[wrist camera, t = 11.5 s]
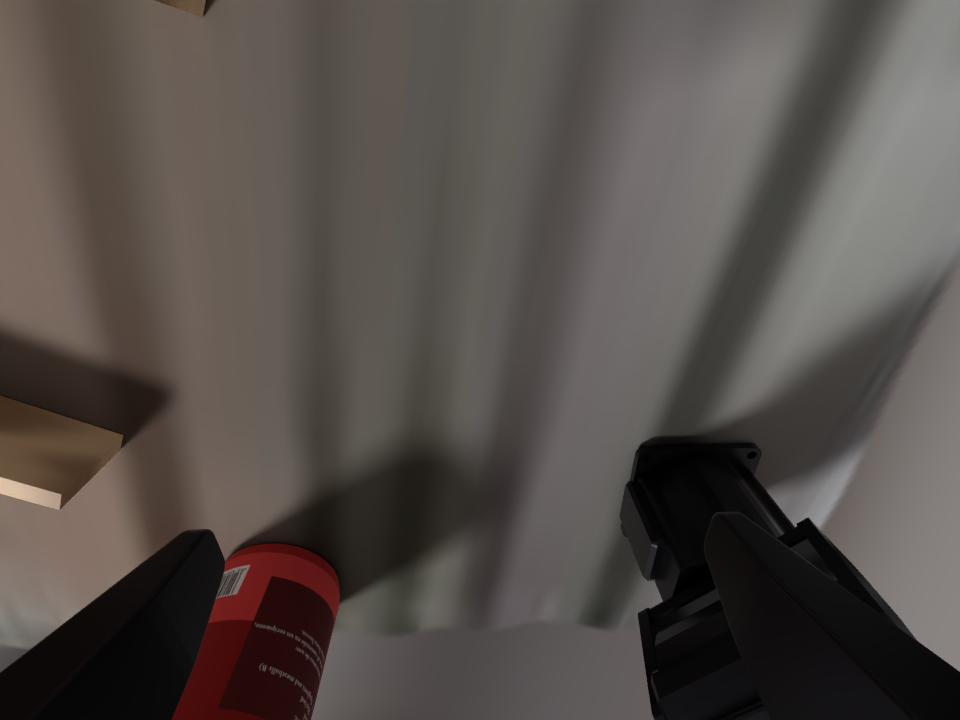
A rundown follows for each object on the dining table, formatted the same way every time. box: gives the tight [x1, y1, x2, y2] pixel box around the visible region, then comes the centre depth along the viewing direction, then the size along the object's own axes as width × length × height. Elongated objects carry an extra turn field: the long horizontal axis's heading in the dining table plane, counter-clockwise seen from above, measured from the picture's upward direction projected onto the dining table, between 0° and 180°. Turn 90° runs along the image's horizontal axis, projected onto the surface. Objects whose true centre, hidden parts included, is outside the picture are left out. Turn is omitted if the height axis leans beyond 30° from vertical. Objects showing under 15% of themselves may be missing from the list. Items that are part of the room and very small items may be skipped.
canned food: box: [172, 543, 340, 720], centre depth 24 cm, size 8×8×11 cm
